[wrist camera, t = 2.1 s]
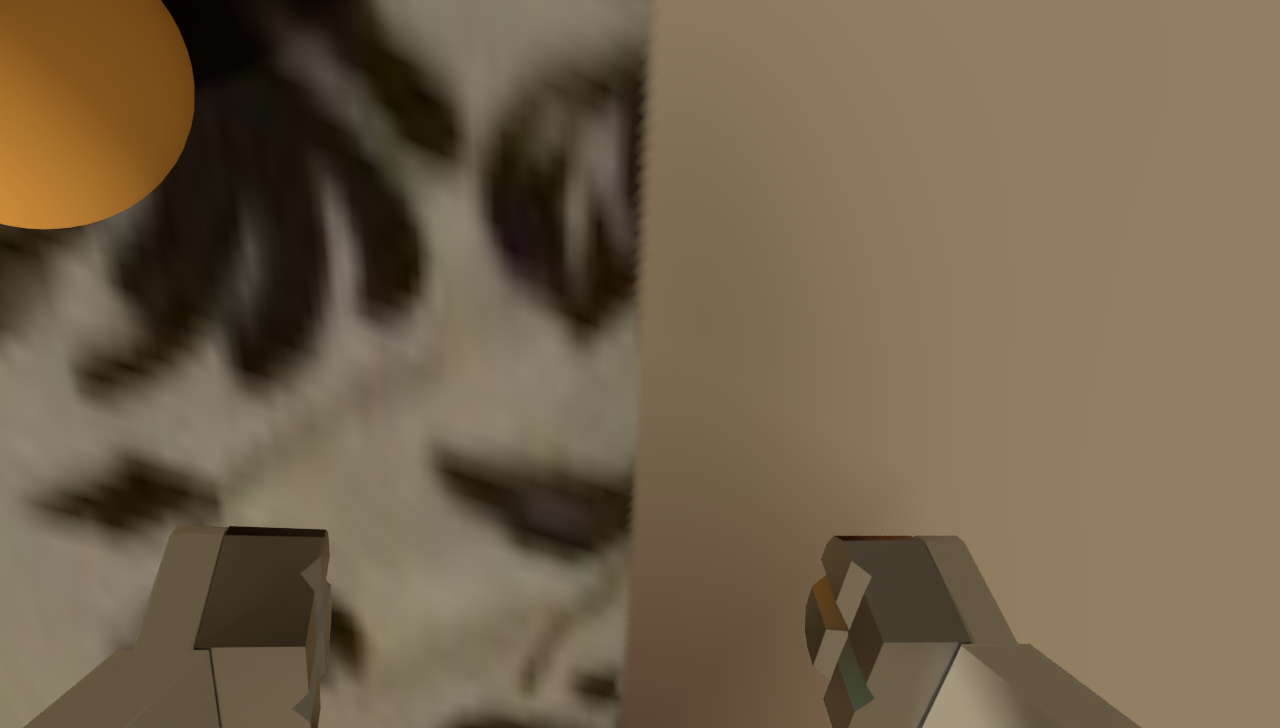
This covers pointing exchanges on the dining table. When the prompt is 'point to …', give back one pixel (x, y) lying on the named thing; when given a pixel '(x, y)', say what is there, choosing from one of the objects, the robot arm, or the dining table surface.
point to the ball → (88, 107)
